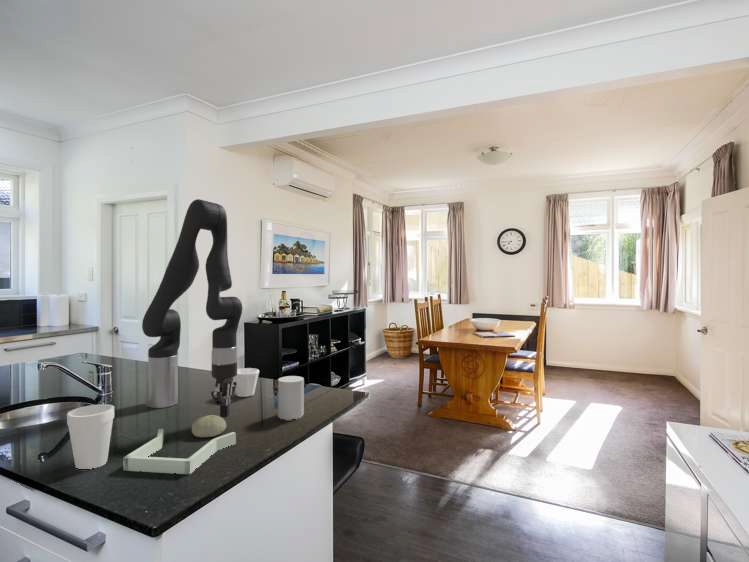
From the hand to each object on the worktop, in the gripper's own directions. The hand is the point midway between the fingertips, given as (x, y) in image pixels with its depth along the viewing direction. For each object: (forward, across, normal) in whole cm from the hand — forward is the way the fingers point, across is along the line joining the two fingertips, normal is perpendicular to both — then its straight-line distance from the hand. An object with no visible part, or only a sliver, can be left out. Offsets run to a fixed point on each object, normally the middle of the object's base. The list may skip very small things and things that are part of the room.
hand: (224, 416), depth 129 cm
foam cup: (+2, +31, -18) cm, 36 cm away
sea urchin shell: (+2, +10, 0) cm, 10 cm away
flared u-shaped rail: (+2, +25, 0) cm, 25 cm away
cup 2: (+2, -7, +19) cm, 20 cm away
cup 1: (+2, -28, -5) cm, 28 cm away
